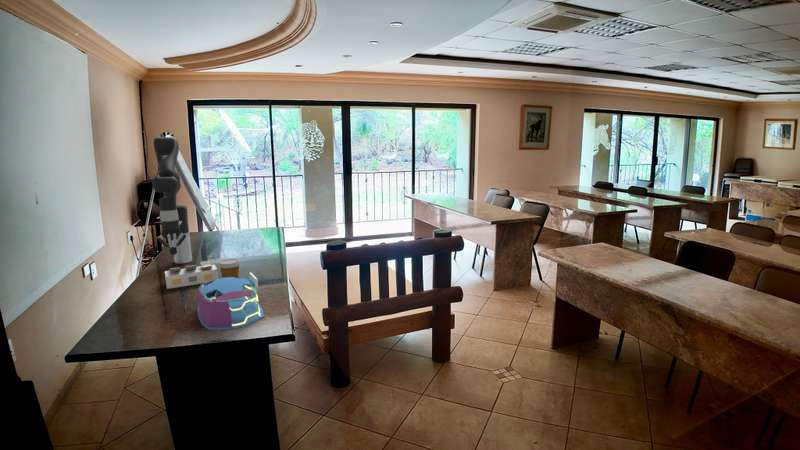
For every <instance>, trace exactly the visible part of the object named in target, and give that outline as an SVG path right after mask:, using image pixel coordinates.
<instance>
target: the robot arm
mask: <svg viewBox="0 0 800 450" xmlns="http://www.w3.org/2000/svg"><path fill="white" fill-rule="evenodd" d="M179 145H180V144H179V141H178V139H177V138H176V137H173V136H170V137H169V136H161V137H159V136H158V137H155V138H154V139H153V147H154V154H155V156H156V157H155V158H156V161H157V166H158V167H157V173H156V175H155V176H154V178H153V180H152V189H153V191H155V192H156V193H162V194H163V197H161V198H159V201H158V205H159V217H160V218H159V219H160V225H161V226H160V227H161V232H160V235H159V236H157V237H156V240H157V241H158V242H160V244H161V245H163V246H164V247H166V248H169V254H170V255H172V256H173V259H174V263H175V264H179V265H181V264H188V263H190V262H193V255H192V245H191V237H190V228H189V219H188V218H189V217H188V208H187V207H188V206H187V205H185V204H177V194H178V193H179V191H180V189H181V186H182V185H181V184H182V183H181V178H180V174H179V173H178V171H176V169H175V168H176V163H177V160H178V156H179V152H180V147H179ZM180 222H181V223H180ZM164 239H165V240H166V241H168V243H167V242H166V241H165V240H164Z"/></svg>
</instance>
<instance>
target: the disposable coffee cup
mask: <svg viewBox="0 0 800 450" xmlns="http://www.w3.org/2000/svg"><path fill="white" fill-rule="evenodd" d="M239 266H240V261H239V259H237V258H227V259H224V260H223V259H222V260H220V261H219V263H218V267H219V268H220V273H221V278H226V277H238V278H239V268H240V267H239Z"/></svg>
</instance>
